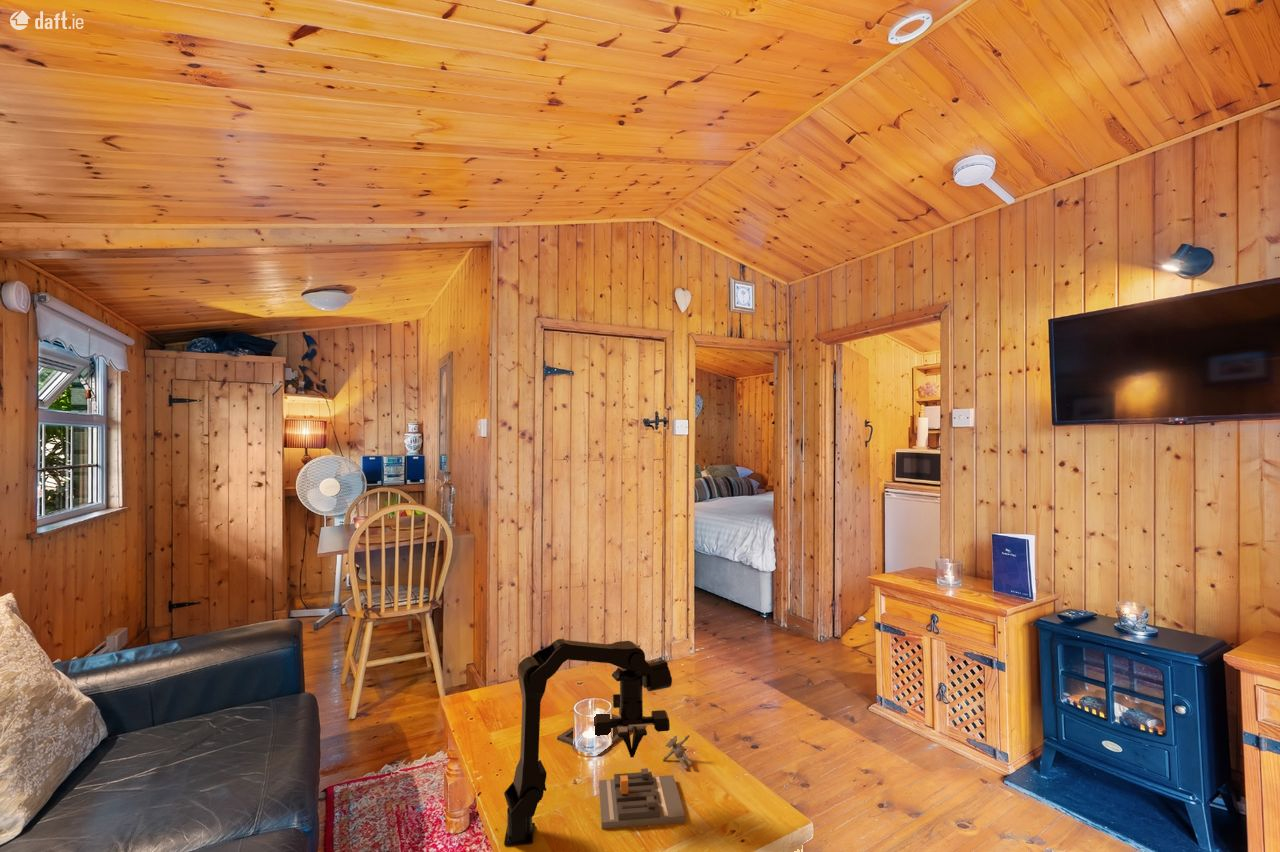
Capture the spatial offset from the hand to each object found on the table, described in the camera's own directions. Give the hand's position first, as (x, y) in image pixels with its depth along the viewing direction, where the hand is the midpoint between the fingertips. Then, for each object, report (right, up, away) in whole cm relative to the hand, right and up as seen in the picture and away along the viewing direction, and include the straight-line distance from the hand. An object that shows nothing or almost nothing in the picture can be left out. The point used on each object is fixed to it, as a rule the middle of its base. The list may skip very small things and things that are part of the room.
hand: (631, 756), depth 146 cm
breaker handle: (-2, -9, 0) cm, 9 cm away
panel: (+2, -12, 0) cm, 12 cm away
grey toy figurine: (+14, -12, +19) cm, 26 cm away
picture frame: (-11, -14, +35) cm, 39 cm away
